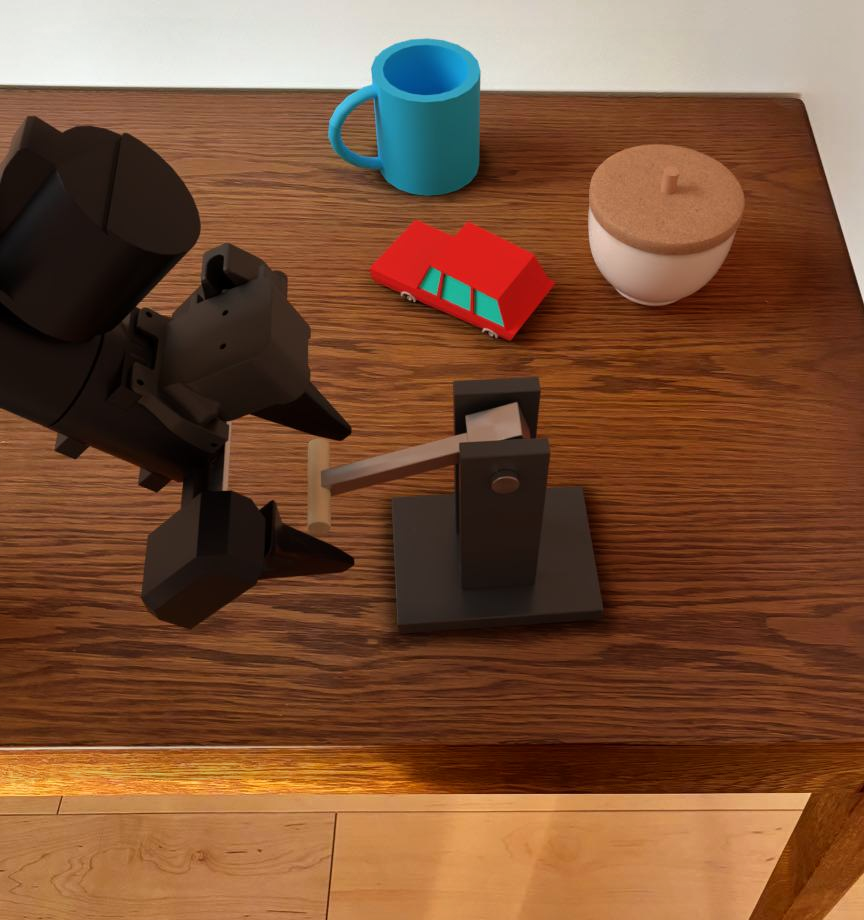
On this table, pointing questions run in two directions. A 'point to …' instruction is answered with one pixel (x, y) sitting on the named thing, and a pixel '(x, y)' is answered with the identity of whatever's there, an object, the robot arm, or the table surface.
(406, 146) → the mug
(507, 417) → the lever
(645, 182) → the trinket box
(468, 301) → the toy car
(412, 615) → the bracket
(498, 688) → the table surface
